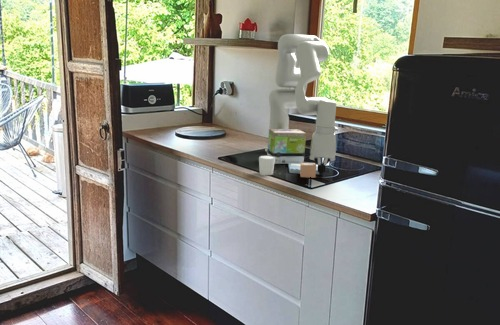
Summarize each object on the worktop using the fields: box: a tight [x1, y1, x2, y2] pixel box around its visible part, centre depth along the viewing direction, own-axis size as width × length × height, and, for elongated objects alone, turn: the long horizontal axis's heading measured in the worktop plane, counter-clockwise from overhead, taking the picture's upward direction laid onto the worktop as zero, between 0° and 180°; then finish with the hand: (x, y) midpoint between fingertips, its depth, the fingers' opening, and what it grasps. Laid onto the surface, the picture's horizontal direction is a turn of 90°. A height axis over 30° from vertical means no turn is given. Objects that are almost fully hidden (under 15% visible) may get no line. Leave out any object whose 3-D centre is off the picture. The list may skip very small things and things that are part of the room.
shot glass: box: [258, 155, 275, 176], centre depth 192 cm, size 7×7×7 cm
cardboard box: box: [299, 161, 317, 179], centre depth 191 cm, size 5×6×5 cm
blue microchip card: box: [287, 163, 322, 175], centre depth 200 cm, size 11×14×2 cm
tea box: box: [266, 128, 307, 165], centre depth 212 cm, size 15×10×15 cm, turn 105°
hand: (320, 173), depth 192 cm, fingers closed
